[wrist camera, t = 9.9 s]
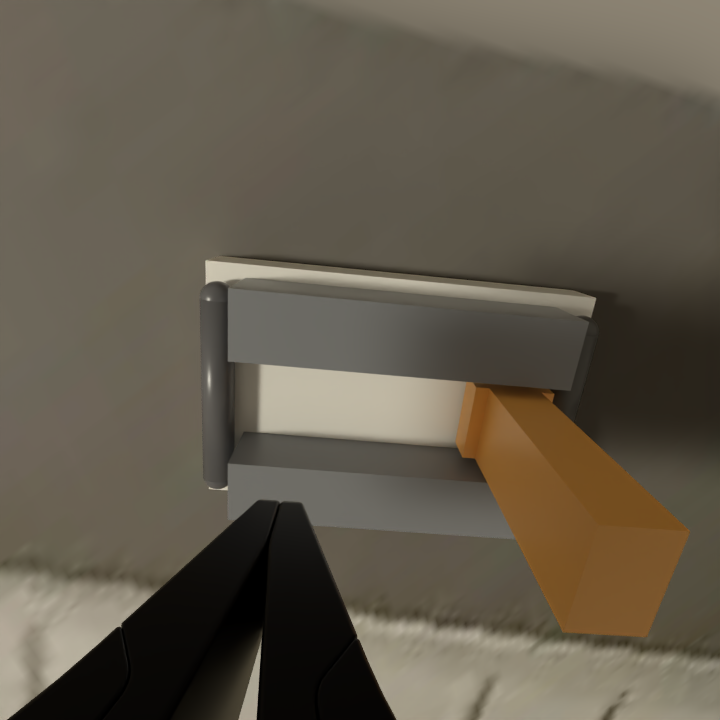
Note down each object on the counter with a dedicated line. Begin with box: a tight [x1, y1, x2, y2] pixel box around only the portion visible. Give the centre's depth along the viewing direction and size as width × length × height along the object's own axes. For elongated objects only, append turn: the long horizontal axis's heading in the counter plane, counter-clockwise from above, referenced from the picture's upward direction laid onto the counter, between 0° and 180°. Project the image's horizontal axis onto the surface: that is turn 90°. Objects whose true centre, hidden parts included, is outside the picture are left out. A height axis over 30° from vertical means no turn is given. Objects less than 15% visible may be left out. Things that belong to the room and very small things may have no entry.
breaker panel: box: [200, 256, 599, 539], centre depth 14 cm, size 12×8×4 cm, turn 84°
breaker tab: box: [455, 382, 690, 637], centre depth 11 cm, size 2×2×7 cm
